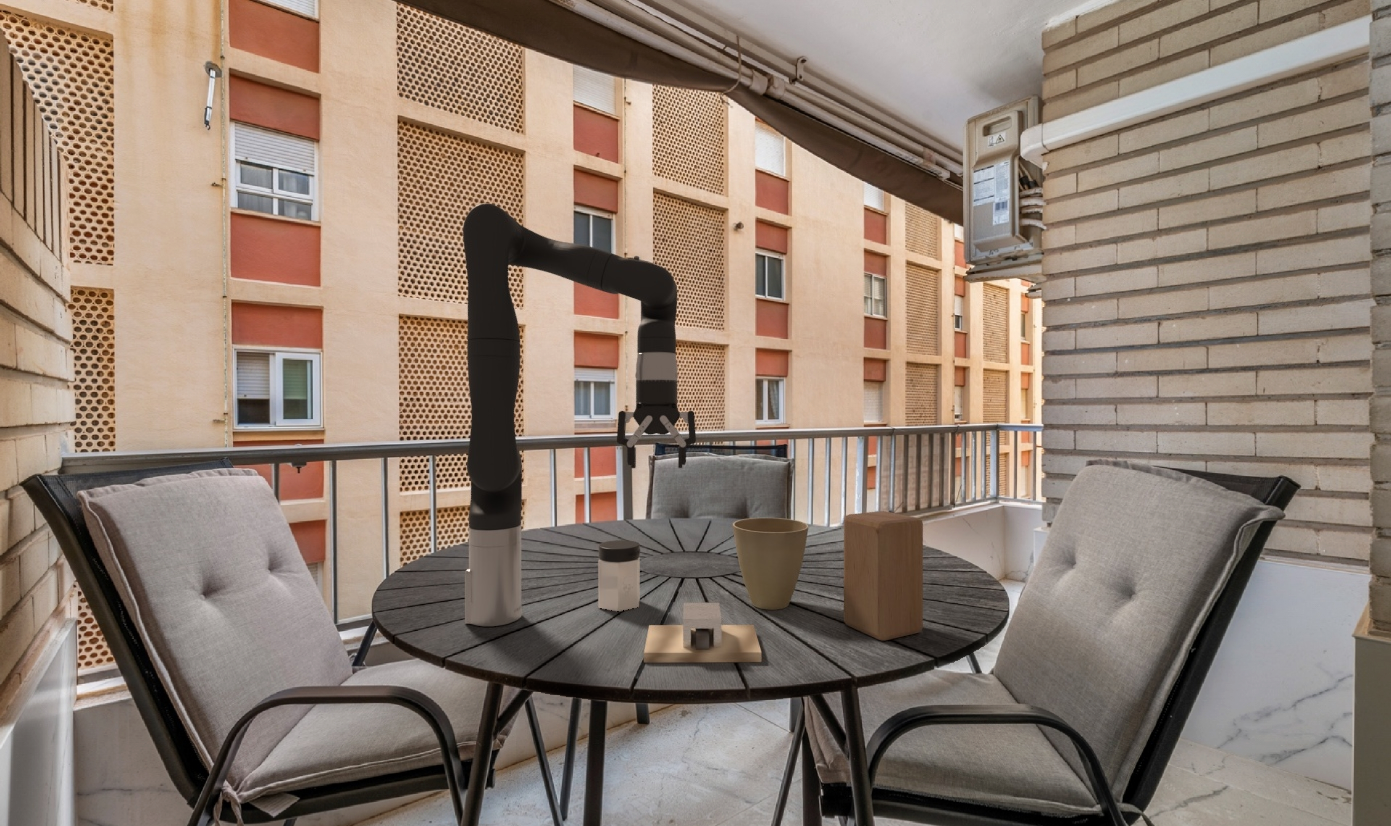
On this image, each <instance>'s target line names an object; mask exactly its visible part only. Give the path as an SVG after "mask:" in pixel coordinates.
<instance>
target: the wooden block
mask: <svg viewBox="0 0 1391 826" xmlns="http://www.w3.org/2000/svg"><path fill="white" fill-rule="evenodd" d="M923 553H924V522H923V520H922V519H920V518H918V517H915V516H911V515H906V514H901V513H894V512H890V511H885V510H878V511H877V510H876V511H871V512H870V511H869V512H860V513H859V512H857V513H850V514H846V515H845V516H844V518H843V621H844V624H845V625H846V626H848V627H850V628H852V629H855V630H857V631H859V632H861V633H863V634H866V635H868V636H870V637H872V638H874V639H876V640H879V641H883V642H884V641H888V640H893V639H897V638H901V637H904V636H905V637H907V636H909V635H910V636H911V635H913V634H919V633H921V632H922V631H923V628H924V624H923V623H924V617H923V616H924V608H923V607H924V605H923V604H924V602H923V601H924V593H923V592H924V582H923V581H924V575H923V574H924V554H923Z"/></svg>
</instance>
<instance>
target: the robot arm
mask: <svg viewBox="0 0 1391 826" xmlns="http://www.w3.org/2000/svg"><path fill="white" fill-rule="evenodd" d="M464 219H465V220H464V222H463V227H462V239H463V248H464V256H465V267H466V276H467V336H466V337H467V338H466V340H467V341H466V343H467V344H466V346H467V347H466V348H467V349H466V351H467V355H466V357H467V359H466V360H467V374H468V376H467V377H468V379H467V380H468V389H469V390H468V391H469V398H470V409H471V410H470V411H471V417H470V418H471V420H470V421H471V422H470V436H469V443H468V453H467V461H466V471H467V474H468V478H470V502H469V511H468V568H467V569H466V570H465V572H464V624H471V625H474V626H478V627H479V626H480V627H495V626H496V627H498V626H503V625H504V626H505V625H508V624H512V623H513V622H517V621H518V620H520V619H521V617H522V607H523V606H522V506H523V505H522V503H523V502H522V501H523V499H522V498H523V494H522V493H523V492H522V491H523V464H522V463H523V461H522V456H521V453H520V451H519V449H518V447H517V439H516V438H517V437H516V426H515V409H516V401H517V394H518V388H519V382H520V374H521V373H520V371H521V334H520V327H519V322H518V321H519V320H518V318H517V313H516V309H515V306H514V303H513V299H512V295H511V289H510V285H509V283H510V282H509V266H514V267H521V268H526V269H527V268H528V269H533V270H537V271H541V272H545V273H547V274H548V273H549V274H552V275H555V276H558V277H561V278H563V279H566V280H569V281H570V282H571V281H572V282H574V283H578V284H580V285H583V286H586V287H588V288H592V289H595V290H598V291H601V292H603V293H604V292H605V293H608V294H610V295H611V294H612V295H618V294H620V295H622V296H626V297H628V298H632V299H634V300H637V301H638V302H640V324H639V325H638V329H637V338H636V339H637V340H636V341H637V345H636V346H637V348H636V351H637V352H636V353H637V357H636V364H635V377H634V378H635V410H634V411H625V410H620V411H619V412H618V414H617V433H616V434H617V435H616V443H617V444H619V445H622V446H625V447H626V450H627V451H626V453H627V454H626V455H627V457H626V458H627V465H628V466H630V469H636V468H637V447H635V446H636V443H637V442H638V441H639V440H640V438H642V436H643V434H645V435H650V436H651V435H652V436H653V435H656V434H658V435H660V436H661V435H664V436H665V435H667V434H670V435H671V437H672V438H673V439H674V440H675V441H676V443H677V444H678V445H679V446H678V448H677V449H678V452H677V453H678V454H677V455H678V456H677V457H678V458H677V461H678V464H677V465H678V466H677V468H678V469H683V466H685V465H686V463H687V448H688V446H690V445H693V444H695V443H696V442H697V437H696V436H697V435H696V418H695V412H694V411H693V410H688V411H679V409H678V376H679V375H678V362H677V354H676V353H677V337H676V336H677V334H676V319H677V309H678V286H677V283H676V281H675V279H674V277H673V275H672V274H671V272H670V271H669V270H667V269H666V268H665V267H663V266H661V265H659V264H655V263H651V262H648V261H644V260H643V261H642V260H638V259H634V258H633V259H632V258H626V257H622V256H620V255H617V254H615V253H612V252H609V251H606V250H602V249H599V248H596V247H593V246H589V245H586V244H580V243H574V242H565V241H562V240H561V241H559V240H556V239H552V238H550V237H547V236H543V235H541V234H539V233H537V232H534V231H533V230H531V229H529V228H527V227H525V226H524V225H521V224H520V223H519V222H518V221H517V220H516V219H515V218H514V217H513V216H512V215H510V214H509V213H508V212H507V211H505V210H504V209H503V208H502V207H500V206H498V205H496V204H493V203H486V202H484V203H479V204H478V205H475V206H474V207H472V208H471V209H470V210H469V212H468V213H467V215H466V217H465V218H464ZM632 418H633V419H634V420H635V423H636V424H637V425H638V427H637V428H636V430H635V431H634V433H633V434H632V436H631V437H630V438H626V431H627V430H626V428H627V427H626V426H627V424H629V423H630V421H631V419H632ZM680 418H682V419H683V422H684V423H685V424H687V426H688V427H687V428H688V437H687V438H684V437H683V436H682V435H681V434H680V432H679V431H678V429H677V428H676V427H675V425H676V424H677V423H678V421H679V420H680Z"/></svg>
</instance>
